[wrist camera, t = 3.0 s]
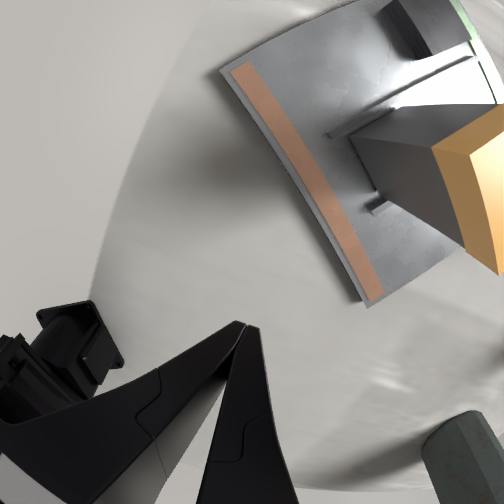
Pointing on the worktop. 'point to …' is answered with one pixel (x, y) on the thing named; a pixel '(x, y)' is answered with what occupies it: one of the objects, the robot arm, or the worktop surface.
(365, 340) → the worktop surface
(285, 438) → the worktop surface
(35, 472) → the robot arm
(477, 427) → the bottle
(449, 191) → the handle
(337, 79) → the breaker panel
